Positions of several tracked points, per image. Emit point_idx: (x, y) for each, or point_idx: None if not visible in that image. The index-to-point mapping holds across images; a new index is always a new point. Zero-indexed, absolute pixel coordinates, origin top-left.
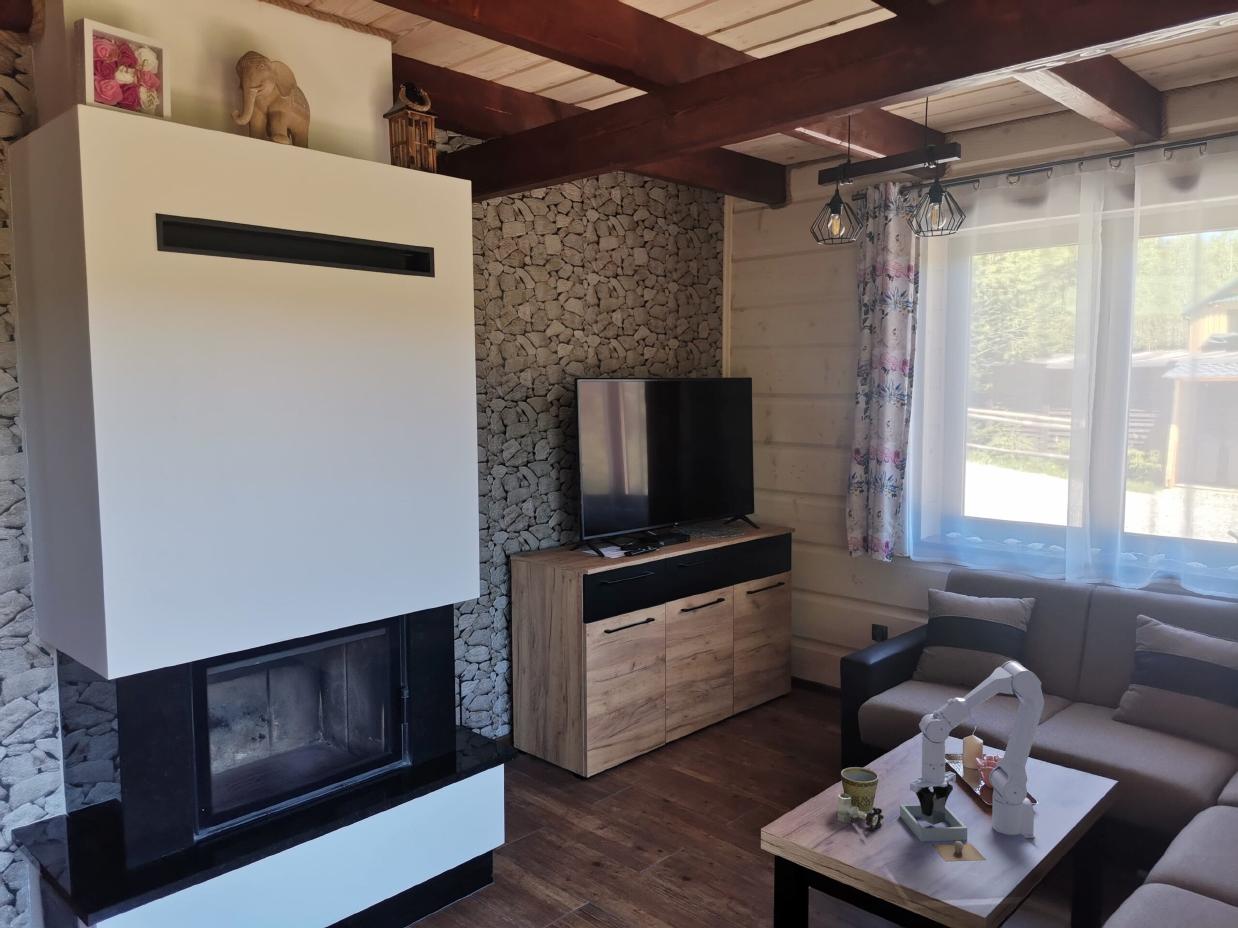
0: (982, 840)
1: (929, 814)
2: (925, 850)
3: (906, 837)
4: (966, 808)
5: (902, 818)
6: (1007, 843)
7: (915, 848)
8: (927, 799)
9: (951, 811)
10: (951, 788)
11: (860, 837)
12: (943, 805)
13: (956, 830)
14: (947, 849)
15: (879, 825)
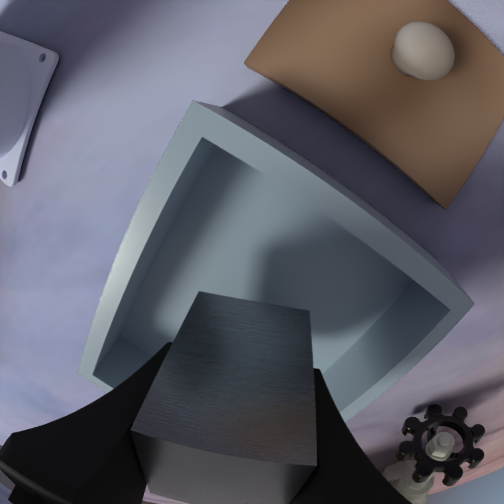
0: (126, 84)
1: (316, 374)
2: (469, 215)
3: None
4: (8, 302)
5: None
6: (70, 17)
7: (477, 257)
8: (390, 487)
9: (96, 314)
10: (23, 461)
11: (485, 401)
12: (180, 373)
13: (277, 148)
14: (431, 119)
15: (420, 423)
